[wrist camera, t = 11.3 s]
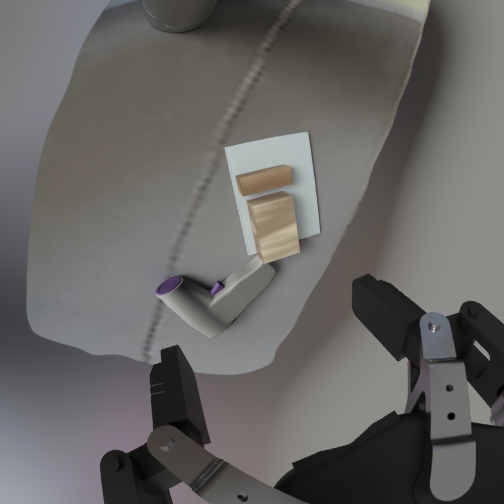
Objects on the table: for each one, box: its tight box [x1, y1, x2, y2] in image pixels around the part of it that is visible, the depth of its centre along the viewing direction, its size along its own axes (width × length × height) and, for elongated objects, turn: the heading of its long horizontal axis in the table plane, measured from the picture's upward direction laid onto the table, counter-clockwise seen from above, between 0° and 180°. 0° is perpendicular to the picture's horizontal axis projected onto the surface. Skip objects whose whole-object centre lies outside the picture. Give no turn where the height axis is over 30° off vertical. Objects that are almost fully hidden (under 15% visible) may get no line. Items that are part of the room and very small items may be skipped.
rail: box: [235, 164, 293, 197], centre depth 36 cm, size 2×7×2 cm, turn 101°
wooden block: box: [247, 191, 300, 264], centre depth 38 cm, size 3×6×8 cm
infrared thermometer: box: [156, 255, 276, 338], centre depth 40 cm, size 5×12×15 cm
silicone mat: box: [224, 132, 320, 255], centre depth 39 cm, size 16×12×1 cm
